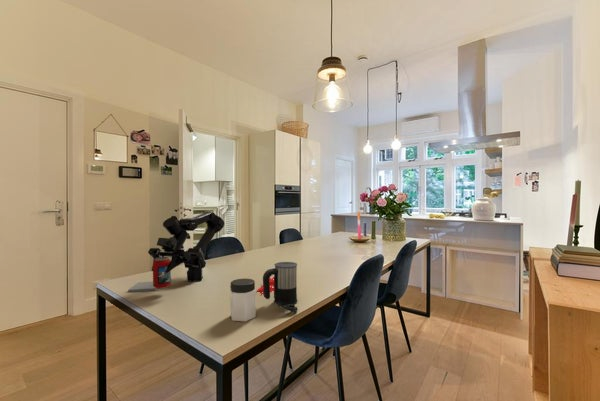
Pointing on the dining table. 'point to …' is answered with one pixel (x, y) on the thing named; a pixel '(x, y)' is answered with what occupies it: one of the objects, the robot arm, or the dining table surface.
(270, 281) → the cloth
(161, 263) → the beverage can
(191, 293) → the dining table surface
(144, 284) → the trivet
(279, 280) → the milk frother
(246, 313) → the jar
